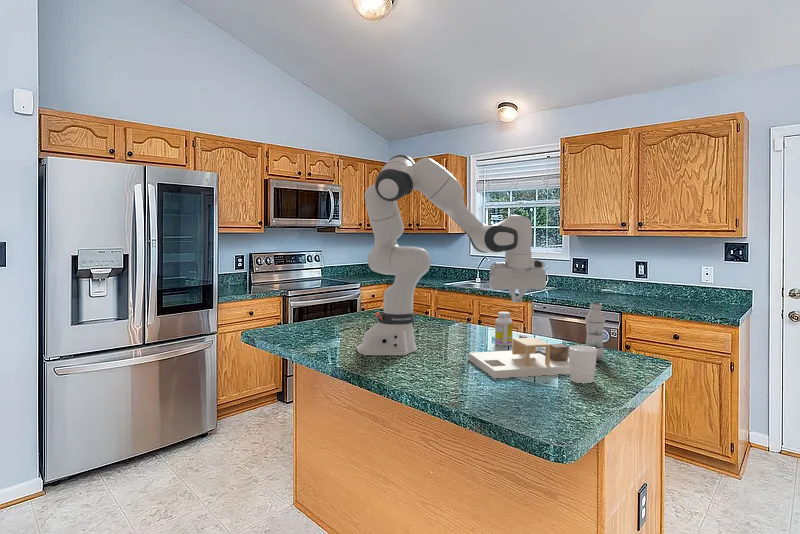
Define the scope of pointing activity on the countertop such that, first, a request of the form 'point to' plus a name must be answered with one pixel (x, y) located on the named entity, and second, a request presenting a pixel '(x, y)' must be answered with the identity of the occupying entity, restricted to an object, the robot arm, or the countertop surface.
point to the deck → (520, 360)
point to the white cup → (582, 363)
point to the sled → (554, 351)
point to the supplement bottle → (503, 329)
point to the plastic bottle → (595, 329)
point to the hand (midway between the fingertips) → (516, 302)
